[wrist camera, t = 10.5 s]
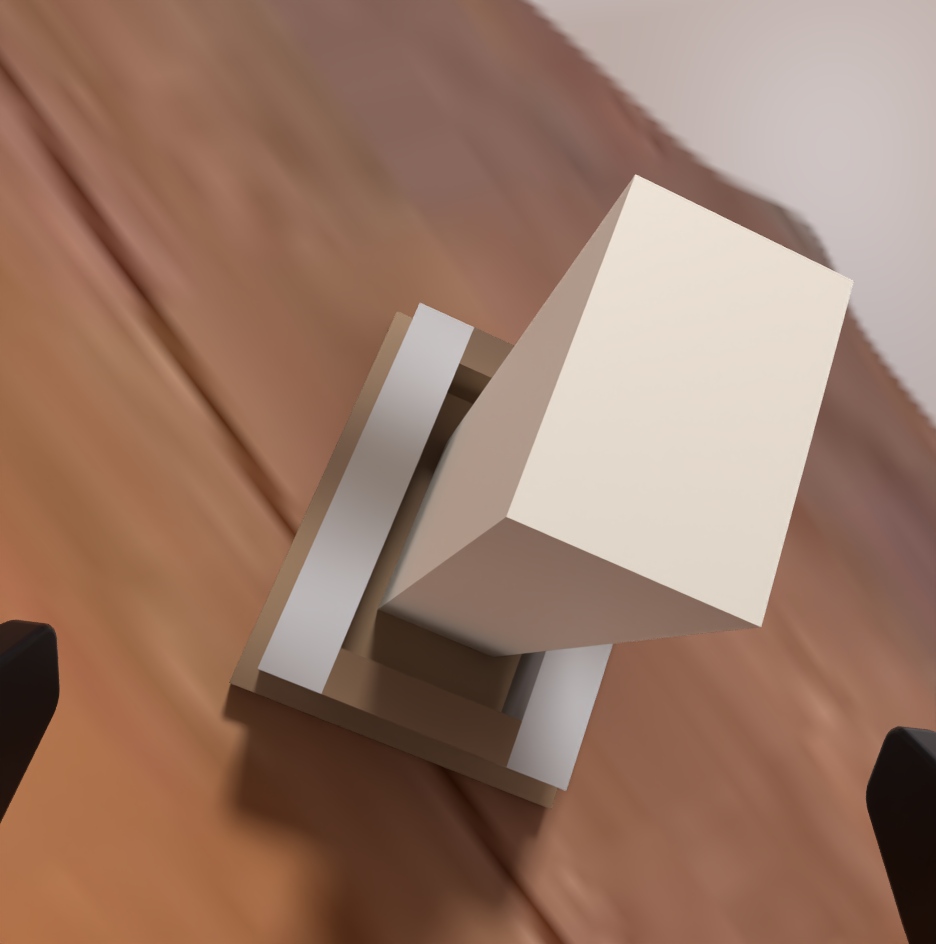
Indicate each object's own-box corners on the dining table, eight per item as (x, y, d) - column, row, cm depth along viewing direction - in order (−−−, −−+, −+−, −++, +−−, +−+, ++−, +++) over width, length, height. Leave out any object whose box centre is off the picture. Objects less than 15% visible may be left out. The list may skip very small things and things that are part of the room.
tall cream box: (492, 657, 20) (761, 627, 9) (377, 609, 20) (505, 516, 9) (553, 489, 22) (853, 280, 10) (446, 442, 22) (635, 173, 10)
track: (543, 805, 21) (579, 823, 18) (230, 683, 20) (223, 682, 17) (662, 441, 23) (707, 412, 21) (394, 320, 23) (408, 276, 20)
